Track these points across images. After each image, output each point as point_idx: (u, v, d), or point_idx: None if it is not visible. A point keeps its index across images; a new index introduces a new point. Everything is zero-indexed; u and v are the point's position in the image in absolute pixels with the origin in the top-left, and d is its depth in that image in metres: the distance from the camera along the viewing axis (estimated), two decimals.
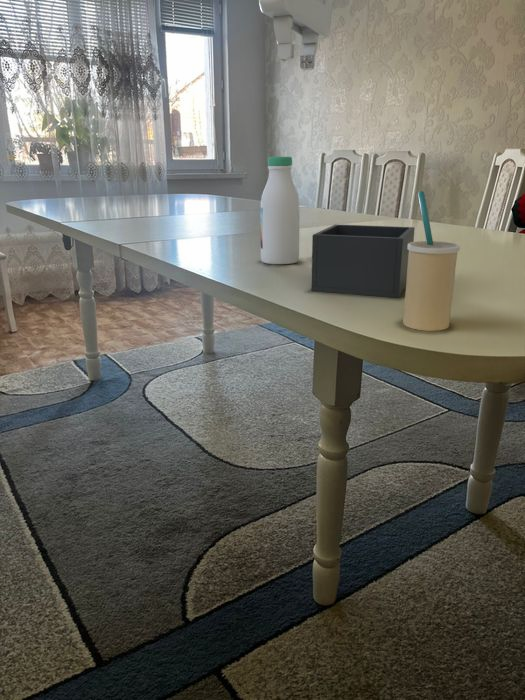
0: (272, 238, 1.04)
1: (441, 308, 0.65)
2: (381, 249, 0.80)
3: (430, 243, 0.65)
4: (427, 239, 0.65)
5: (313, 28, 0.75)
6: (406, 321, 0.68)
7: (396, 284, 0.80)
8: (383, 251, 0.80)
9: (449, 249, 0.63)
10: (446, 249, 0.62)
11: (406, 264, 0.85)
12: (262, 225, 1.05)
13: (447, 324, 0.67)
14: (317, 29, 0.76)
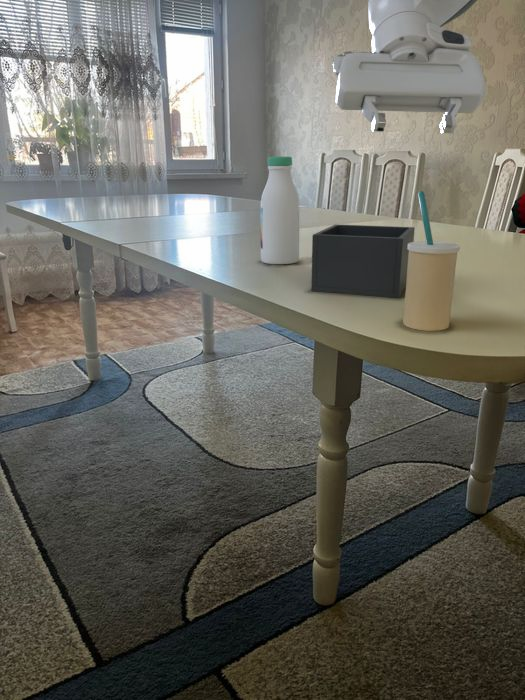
0: (272, 238, 1.04)
1: (441, 308, 0.65)
2: (381, 249, 0.80)
3: (430, 243, 0.65)
4: (427, 239, 0.65)
5: (431, 93, 0.73)
6: (406, 321, 0.68)
7: (396, 284, 0.80)
8: (383, 251, 0.80)
9: (449, 249, 0.63)
10: (446, 249, 0.62)
11: (406, 264, 0.85)
12: (262, 225, 1.05)
13: (447, 324, 0.67)
14: (442, 92, 0.73)
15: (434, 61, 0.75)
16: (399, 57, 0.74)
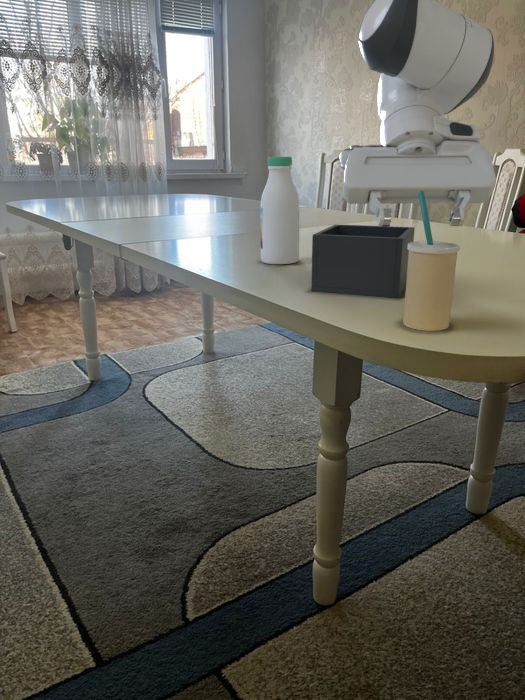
0: (272, 238, 1.04)
1: (441, 308, 0.65)
2: (381, 249, 0.80)
3: (430, 243, 0.65)
4: (427, 239, 0.65)
5: (438, 187, 0.72)
6: (406, 321, 0.68)
7: (396, 284, 0.80)
8: (383, 251, 0.80)
9: (449, 249, 0.63)
10: (446, 249, 0.62)
11: (406, 264, 0.85)
12: (262, 225, 1.05)
13: (447, 324, 0.67)
14: (450, 186, 0.72)
15: (442, 153, 0.74)
16: (405, 151, 0.74)
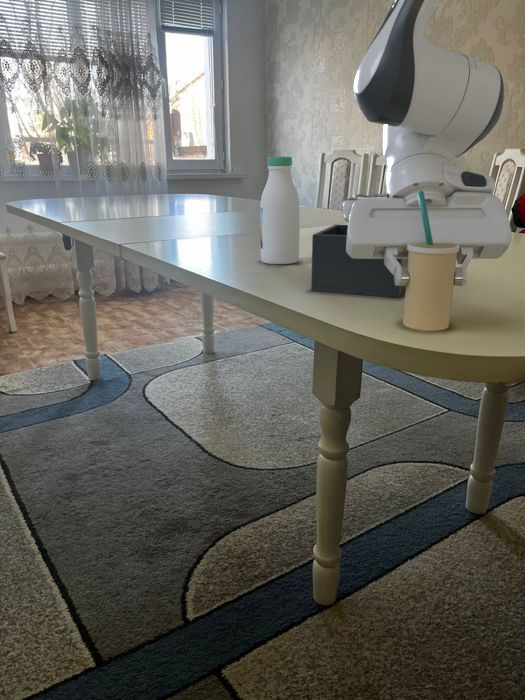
0: (272, 238, 1.04)
1: (441, 308, 0.65)
2: None
3: (430, 243, 0.65)
4: (427, 239, 0.65)
5: None
6: (406, 321, 0.68)
7: None
8: None
9: (449, 249, 0.63)
10: (446, 249, 0.62)
11: (406, 264, 0.85)
12: (262, 225, 1.05)
13: (447, 324, 0.67)
14: (462, 242, 0.66)
15: (453, 205, 0.69)
16: (414, 203, 0.69)
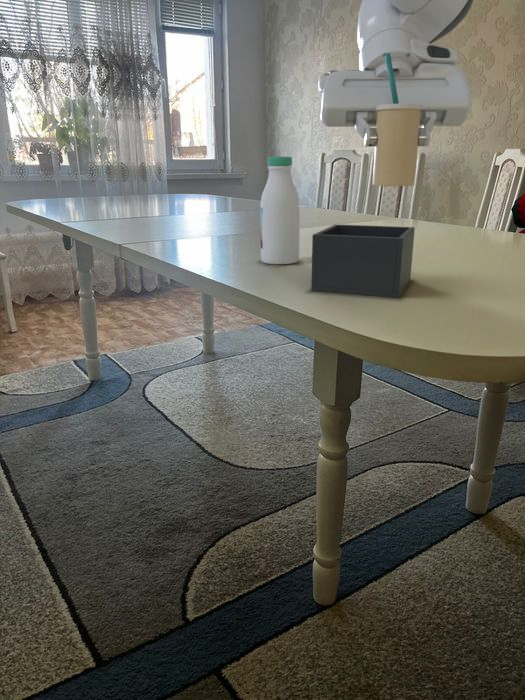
0: (272, 238, 1.04)
1: (405, 163, 0.71)
2: (381, 249, 0.80)
3: (396, 103, 0.71)
4: (393, 100, 0.71)
5: None
6: (375, 180, 0.74)
7: (396, 284, 0.80)
8: (383, 251, 0.80)
9: (412, 104, 0.68)
10: (409, 104, 0.68)
11: (406, 264, 0.85)
12: (262, 225, 1.05)
13: (412, 182, 0.73)
14: (426, 106, 0.72)
15: (419, 76, 0.74)
16: (383, 74, 0.75)
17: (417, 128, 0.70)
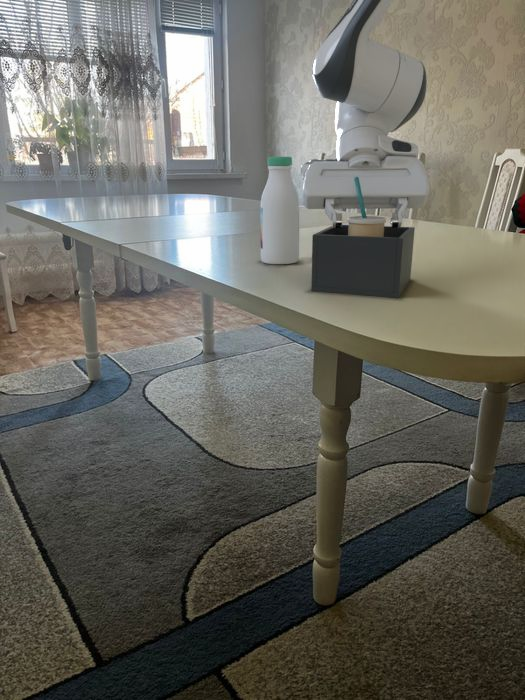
0: (272, 238, 1.04)
1: None
2: (381, 249, 0.80)
3: (364, 217, 0.85)
4: (362, 213, 0.85)
5: (381, 195, 0.86)
6: None
7: (396, 284, 0.80)
8: (383, 251, 0.80)
9: (376, 220, 0.83)
10: (374, 220, 0.83)
11: (406, 264, 0.85)
12: (262, 225, 1.05)
13: None
14: (391, 194, 0.86)
15: (385, 166, 0.88)
16: (355, 165, 0.88)
17: None
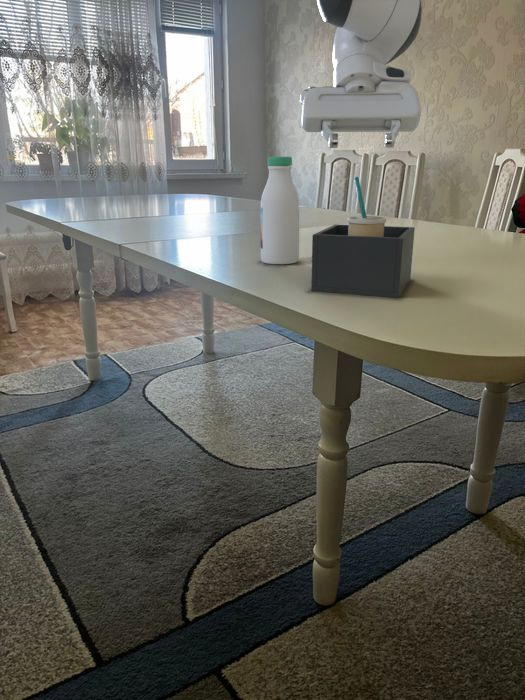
0: (272, 238, 1.04)
1: None
2: (381, 249, 0.80)
3: (364, 217, 0.85)
4: (362, 213, 0.85)
5: (375, 117, 0.92)
6: None
7: (396, 284, 0.80)
8: (383, 251, 0.80)
9: (376, 220, 0.83)
10: (374, 220, 0.83)
11: (406, 264, 0.85)
12: (262, 225, 1.05)
13: None
14: (384, 115, 0.91)
15: (380, 91, 0.94)
16: (351, 90, 0.94)
17: None
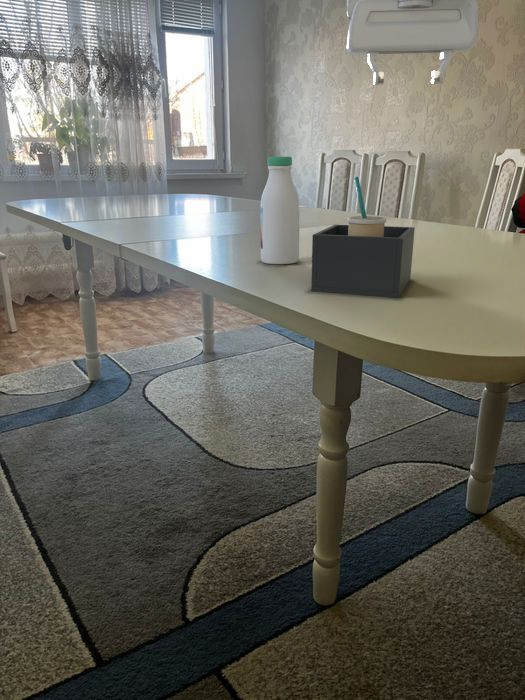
0: (272, 238, 1.04)
1: None
2: (381, 249, 0.80)
3: (364, 217, 0.85)
4: (362, 213, 0.85)
5: (426, 49, 0.86)
6: None
7: (396, 284, 0.80)
8: (383, 251, 0.80)
9: (376, 220, 0.83)
10: (374, 220, 0.83)
11: (406, 264, 0.85)
12: (262, 225, 1.05)
13: None
14: (436, 48, 0.86)
15: (437, 7, 0.84)
16: (405, 7, 0.83)
17: None
